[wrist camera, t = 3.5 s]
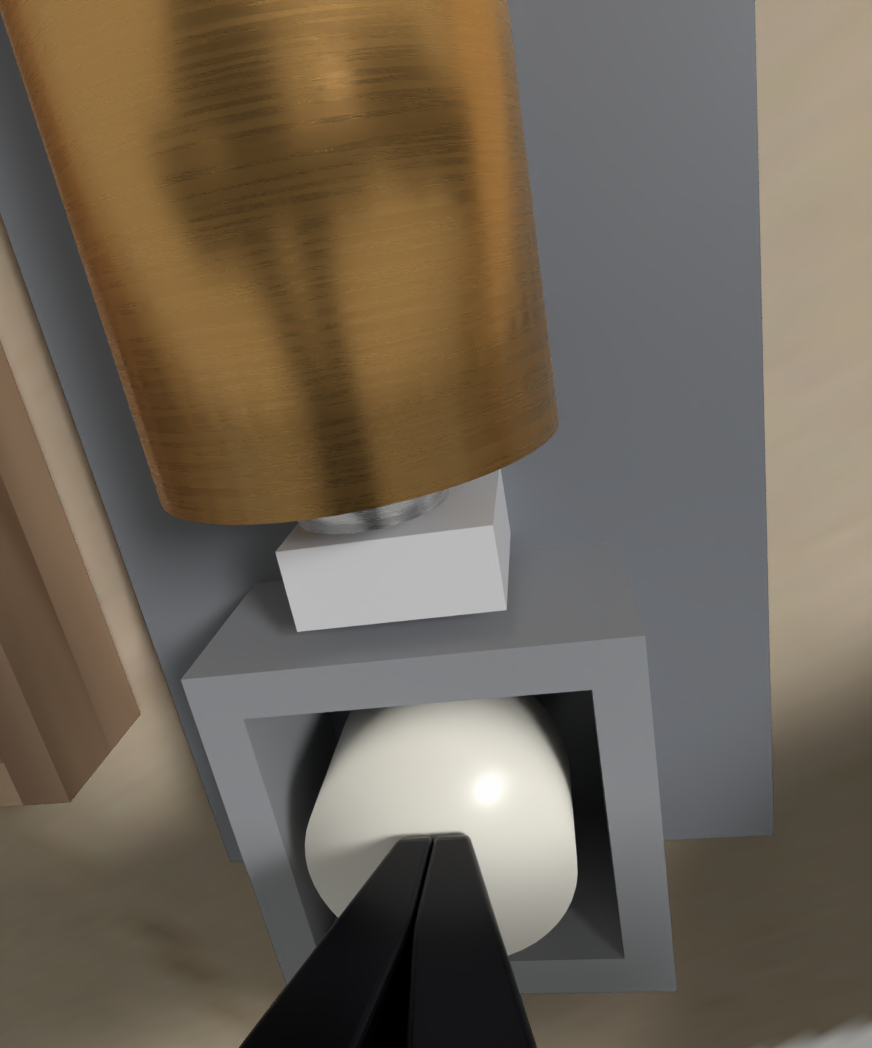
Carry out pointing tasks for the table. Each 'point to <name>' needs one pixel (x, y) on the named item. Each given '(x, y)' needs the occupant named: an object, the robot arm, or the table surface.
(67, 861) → the table surface
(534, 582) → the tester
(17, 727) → the trough
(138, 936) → the table surface
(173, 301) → the cell
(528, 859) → the bulb
